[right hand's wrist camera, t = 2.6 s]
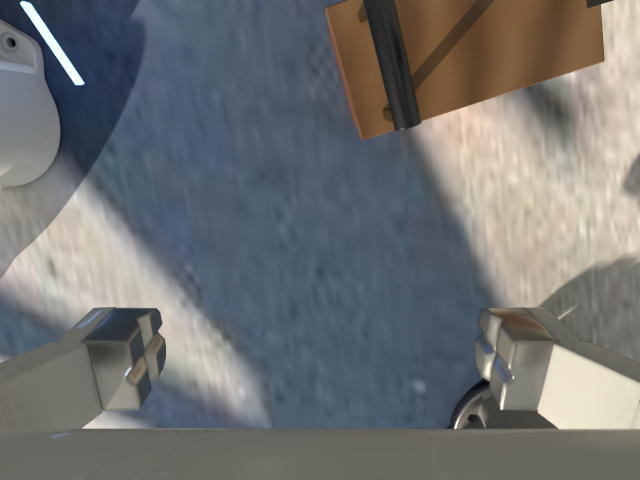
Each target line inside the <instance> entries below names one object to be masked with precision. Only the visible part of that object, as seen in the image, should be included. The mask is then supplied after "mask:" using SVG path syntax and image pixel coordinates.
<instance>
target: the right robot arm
mask: <svg viewBox="0 0 640 480" xmlns="http://www.w3.org/2000/svg"><path fill="white" fill-rule="evenodd" d="M20 4H21V5H22V7H23V8H24V10H25V11H26V13H27V14H28V16H29V17H30V18H31V20H32V21H33V23H34V24H35V26H36V27H37V29H38V30H39V32H40V33H41V35H42V36H43V38H44V39H45V40H46V42H47V43H48V45H49V46H50V48H51V49H52V51H53V52H54V54H55V55H56V57H57V58H58V60H59V61H60V62H61V64H62V65H63V67H64V68H65V70H66V71H67V73H68V74H69V76H70V77H71V79H72V80H73V81H74V83H75V84H76V85H82V84H84V82H83V81H82V79H81V78H80V76H79V75H78V73H77V72H76V70H75V69H74V67H73V66H72V64H71V63H70V61H69V60H68V58H67V57H66V55H65V54H64V52H63V51H62V49H61V48H60V46H59V45H58V43H57V42H56V40H55V39H54V38H53V36H52V35H51V33H50V32H49V30H48V29H47V27H46V26H45V24H44V23H43V21H42V20H41V18H40V17H39V15H38V14H37V12H36V11H35V9H34V8H33V6H32V5H31V3H27V2H24V1H22V2H21V3H20ZM13 39H14V40H15V42H16V45H15V47H13V45H12V40H13ZM59 143H60V120H59V115H58V111H57V108H56V105H55V102H54V99H53V97H52V95H51V93H50V90H49V88H48V86H47V83H46V80H45V77H44V61H43V54H42V50H41V48H40V46H39V44H38V43H37V41H35V40H34V39H33V38H32V37H30V36H28V35H27V34H25V33H23V32H21V31H20V30H18V29H16V28H15V27H13V26H11V25H10V24H8V23H6V22H4V21H3V20H1V19H0V187H15V186H20V185H24V184H27V183H29V182H32V181H34V180H35V179H37V178H39V177H40V176H41V175H42V174H43V173H45V172H46V170H47V169H48V168H49V167H50V166H51V164H52V162H53V161H54V159H55V157H56V154H57V151H58V148H59ZM161 325H162V319H161V314H160V312H159V310H158V309H157V308H116V307H102V308H93V309H92V310H91V311H90V312H89V313H88V314H87V315H86V316H85V317H84V318H82V319H81V320H80V321H79V322H78V323H77V324H76V325H75V326H74V327H73V328H72V329H71V330H69V331H68V332H67V333H66V334H65V335H64V336H63V337H62V338H61V339H60V340H59V341H58V342H57V343H48V344H45V345H43V346H41V347H38V348H36V349H33V350H31V351H29V352H26V353H24V354H21V355H19V356H16V357H14V358H12V359H9V360H7V361H4V362H2V363H0V480H640V363H638V362H636V361H633V360H631V359H628V358H626V357H623V356H621V355H619V354H616V353H614V352H611V351H609V350H607V349H604V348H602V347H599V346H597V345H595V344H592V343H583V342H582V341H581V340H580V339H579V338H578V337H577V336H576V335H575V334H574V333H573V332H572V331H571V330H570V329H568V328H567V327H566V326H565V325H564V324H563V323H562V322H561V321H560V320H559V319H558V318H557V317H556V316H554V315H553V314H552V313H551V312H550V311H549V310H548V309H546V308H543V307H531V308H487V309H482V310H481V312H480V314H479V319H478V325H479V327H480V328H481V330H482V331H483V332H482V333H481V334H480V335H479V336H478V337H477V338H476V339H475V345H474V357H475V363H476V367H477V370H478V371H479V373H480V375H481V377H483V378H484V379H486V380H487V381H489V382H490V384H489V391H490V393H491V394H492V396H493V398H494V399H495V401H496V403H497V405H498V406H499V408H500V410H529V411H538V413H539V414H540V415H542V416H543V417H544V418H546V419H547V420H548V421H550V422H551V423H552V424H554V425H555V426H556V427H558V428H559V429H81V428H82V427H84V426H85V425H86V424H88V423H89V422H90V421H92V420H93V419H94V418H96V417H97V416H98V415H100V414H101V413H102V411H111V410H140V408H141V406H142V405H143V403H144V401H145V400H146V398H147V396H148V394H149V393H150V391H151V384H150V382H151V381H153V380H154V379H156V378H157V377H159V375H160V373H161V371H162V370H163V367H164V363H165V359H166V344H165V339H164V338H163V337H162V336H161V335H160V334H159V333H158V332H157V331H158V330H159V328H160V327H161Z"/></svg>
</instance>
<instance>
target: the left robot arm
mask: <svg viewBox="0 0 640 480" xmlns="http://www.w3.org/2000/svg"><path fill="white" fill-rule="evenodd" d="M610 1H613V0H586V3H587V8H591V7H594V6H597V5H600V4H603V3H606V2H610ZM489 384H490V382H489V381H487V382H485V383H483V384H481V385H479V386H477V387H475V388H474V389H472V390H471V391H470V392H469V393H467V394H466V395H465V396H464V397H463V398H462V399H461V401H460V402H459V403H458V405H457V406H456V408H455V410H454V412H453V414H452V417H451V422H450V429H559V428H558V427H556V426H555V425H554V424H552V423H551V422H550V421H548V420H547V419H546V418H544V417H543V416H542V415H540V414H539V413H538V411H529V410H500V408H499V406H498V405H497V403H496V401H495V399H494V398H493V396H492V394H491V393H490V391H489Z"/></svg>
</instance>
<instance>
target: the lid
mask: <svg viewBox="0 0 640 480" xmlns="http://www.w3.org/2000/svg"><path fill="white" fill-rule="evenodd" d="M326 16H327V19H328V23H329V27H330V30H331V34H332V37H333V41H334V45H335V48H336V52H337V55H338V59H339V63H340V66H341V70H342V73H343V77H344V81H345V84H346V88H347V91H348V95H349V99H350V102H351V106H352V109H353V113H354V116H355V120H356V124H357V127H358V131H359V134H360V138H361V139H362V140H365V139H368V138H371V137H374V136H377V135H380V134H383V133H386V132H389V131H393V130H396V131H399V130H404V129H408V128H411V127H414V126H417V125H419V124H420V123H421V122H422V121H423V120H426V119H429V118H432V117H435V116H439V115H442V114H445V113H448V112H451V111H454V110H457V109H460V108H463V107H466V106H469V105H472V104H475V103H478V102H481V101H485V100H488V99H491V98H494V97H497V96H500V95H503V94H506V93H509V92H512V91H515V90H518V89H521V88H524V87H527V86H531V85H534V84H537V83H540V82H543V81H546V80H549V79H552V78H555V77H558V76H561V75H564V74H567V73H570V72H573V71H577V70H580V69H583V68H586V67H589V66H592V65H595V64H598V63H601V62H603V61H604V47H603V32H602V17H601V4H600V5H597V6H594V7H591V8H587V3H586V0H345V1H342V2H339V3H337V4H334V5H331V6H328V7H326Z"/></svg>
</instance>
